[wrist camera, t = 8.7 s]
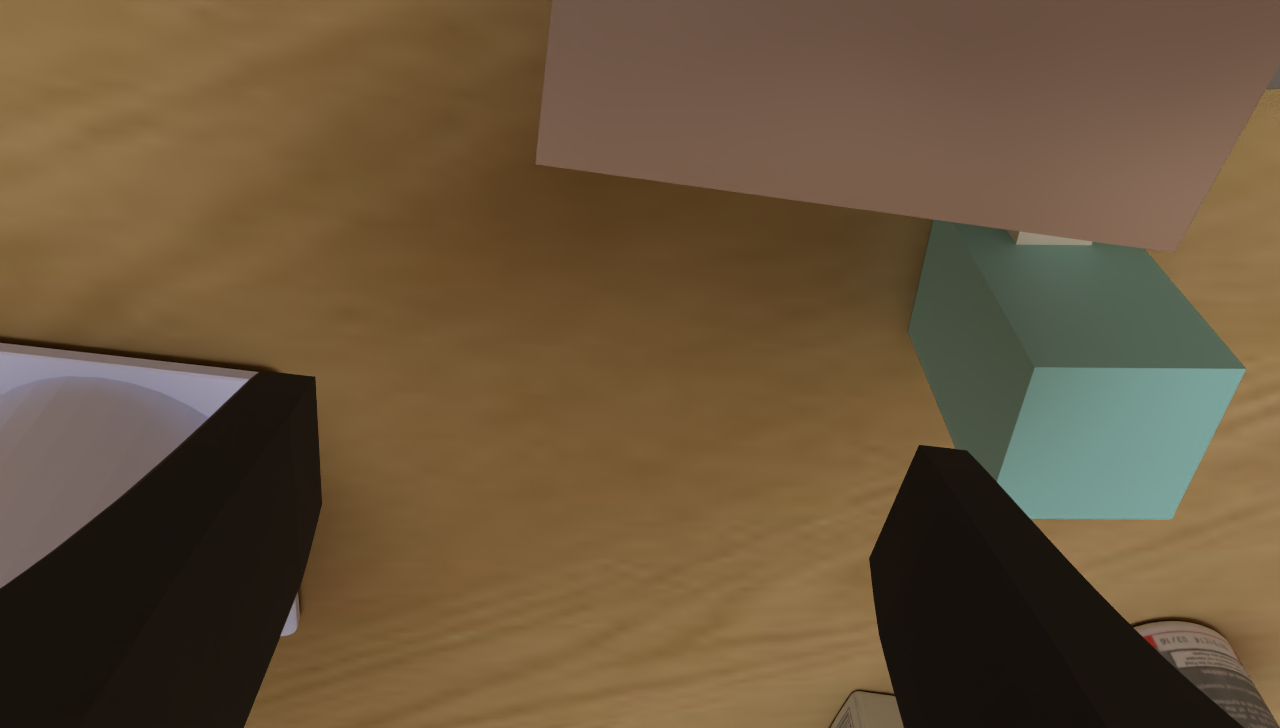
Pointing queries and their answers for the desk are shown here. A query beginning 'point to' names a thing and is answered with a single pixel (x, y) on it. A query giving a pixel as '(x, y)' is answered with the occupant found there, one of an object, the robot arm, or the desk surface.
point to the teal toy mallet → (1069, 370)
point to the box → (869, 712)
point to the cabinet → (918, 104)
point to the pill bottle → (1210, 669)
